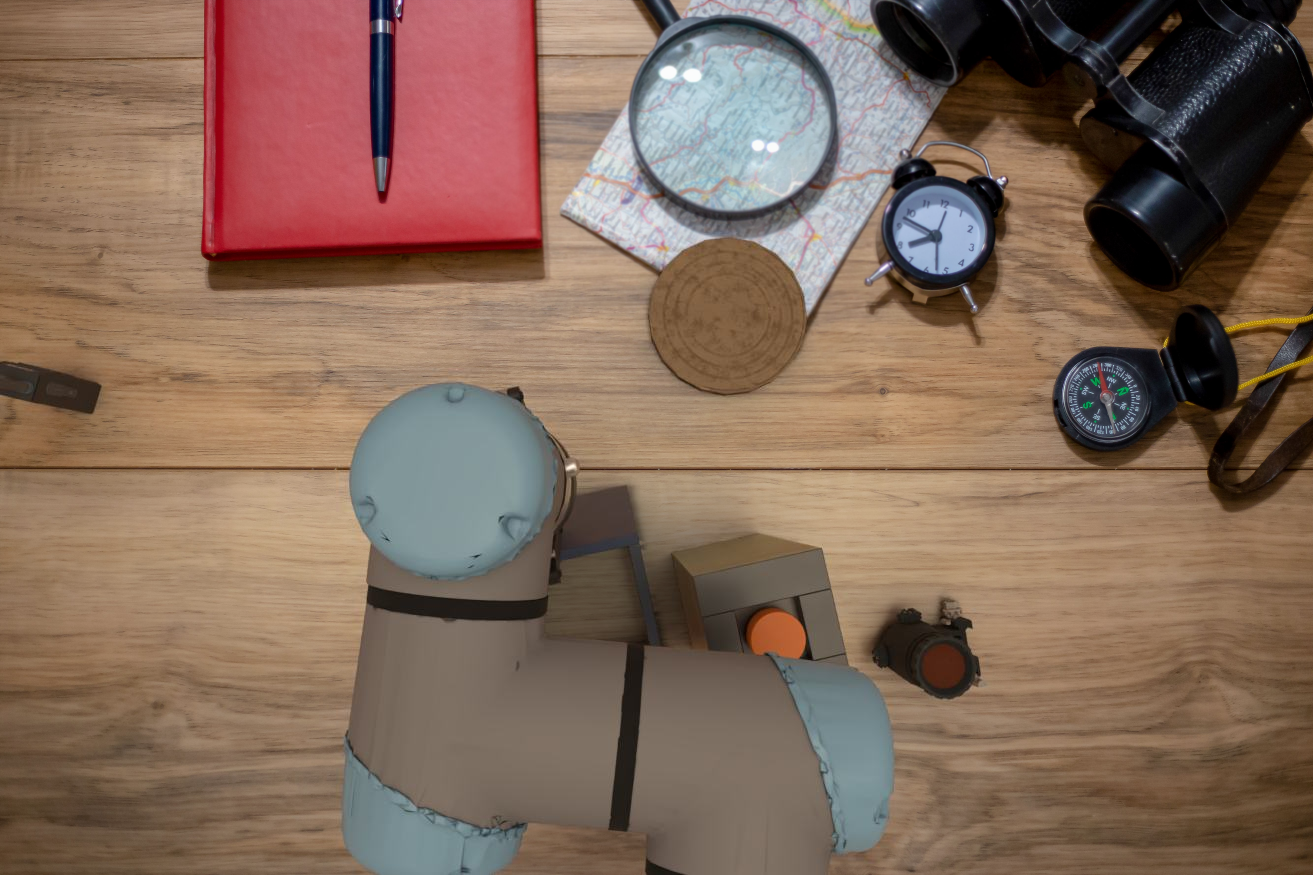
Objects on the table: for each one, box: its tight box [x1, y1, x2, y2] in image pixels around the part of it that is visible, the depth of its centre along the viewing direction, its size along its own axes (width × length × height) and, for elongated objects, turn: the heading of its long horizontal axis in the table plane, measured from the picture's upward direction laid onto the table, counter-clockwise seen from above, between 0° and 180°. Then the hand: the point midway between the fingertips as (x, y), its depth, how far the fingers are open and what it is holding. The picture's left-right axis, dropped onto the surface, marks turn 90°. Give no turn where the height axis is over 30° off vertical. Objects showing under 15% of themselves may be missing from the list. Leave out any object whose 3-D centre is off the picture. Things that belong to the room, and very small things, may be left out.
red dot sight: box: [871, 599, 989, 701], centre depth 82 cm, size 8×14×10 cm
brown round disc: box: [647, 236, 808, 397], centre depth 89 cm, size 16×16×3 cm
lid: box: [560, 484, 640, 562], centre depth 71 cm, size 17×13×1 cm
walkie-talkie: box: [0, 360, 102, 415], centre depth 78 cm, size 5×3×20 cm
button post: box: [671, 532, 850, 666], centre depth 74 cm, size 10×9×30 cm
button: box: [746, 608, 806, 659], centre depth 58 cm, size 4×4×2 cm
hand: (545, 492), depth 71 cm, fingers closed
